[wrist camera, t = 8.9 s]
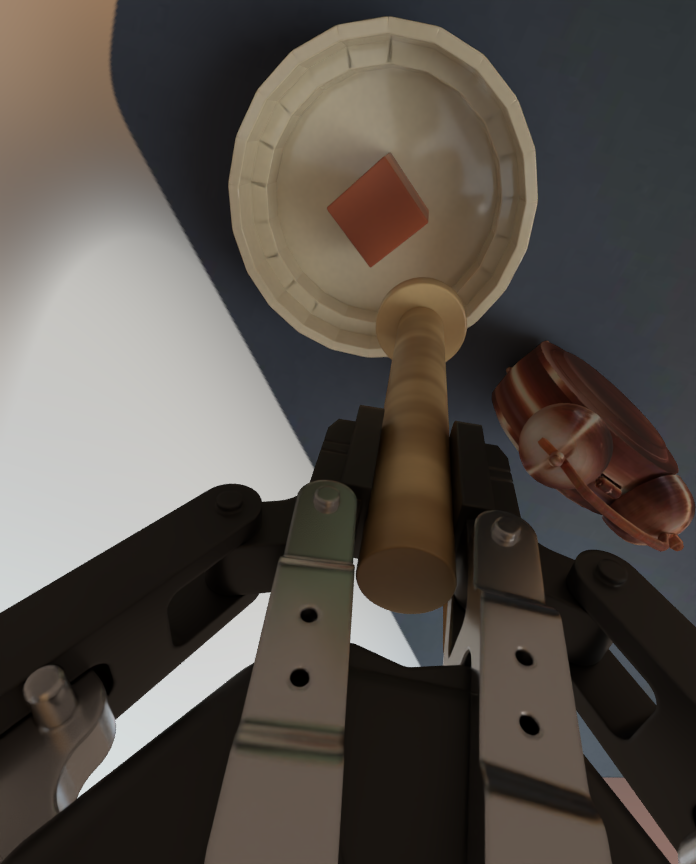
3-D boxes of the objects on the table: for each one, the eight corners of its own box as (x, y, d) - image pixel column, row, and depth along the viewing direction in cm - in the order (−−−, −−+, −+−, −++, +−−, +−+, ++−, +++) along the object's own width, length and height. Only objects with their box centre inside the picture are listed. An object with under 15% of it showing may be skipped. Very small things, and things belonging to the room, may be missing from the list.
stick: (359, 311, 22) (267, 556, 10) (433, 257, 20) (434, 471, 8) (410, 376, 24) (384, 662, 11) (482, 330, 22) (548, 609, 9)
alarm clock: (478, 362, 34) (503, 499, 22) (528, 309, 32) (589, 431, 20) (587, 443, 37) (666, 609, 24) (642, 400, 34) (761, 561, 22)
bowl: (204, 179, 31) (168, 188, 26) (419, -55, 23) (416, -92, 19) (361, 370, 36) (351, 402, 32) (573, 228, 29) (596, 246, 25)
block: (337, 198, 29) (325, 208, 26) (390, 151, 28) (384, 155, 24) (376, 252, 31) (370, 268, 28) (429, 211, 29) (428, 222, 26)
